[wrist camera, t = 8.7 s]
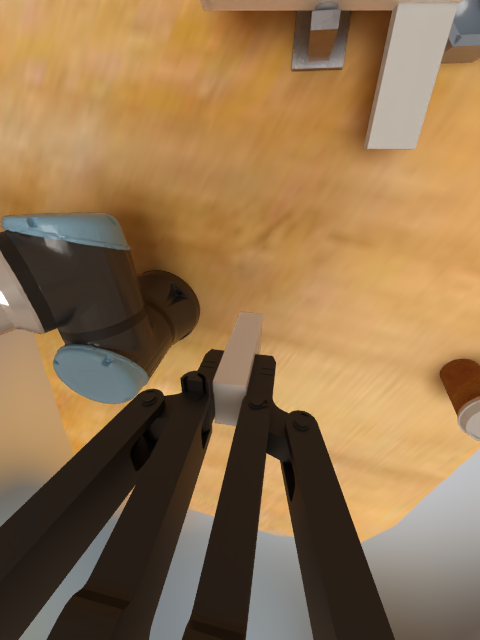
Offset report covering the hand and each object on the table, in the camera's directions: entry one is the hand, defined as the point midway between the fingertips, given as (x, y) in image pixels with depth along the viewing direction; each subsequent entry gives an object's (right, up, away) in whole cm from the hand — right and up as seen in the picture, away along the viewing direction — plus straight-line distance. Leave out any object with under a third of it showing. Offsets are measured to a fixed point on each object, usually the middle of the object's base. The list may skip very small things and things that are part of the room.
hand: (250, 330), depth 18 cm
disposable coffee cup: (+41, -9, +33) cm, 53 cm away
